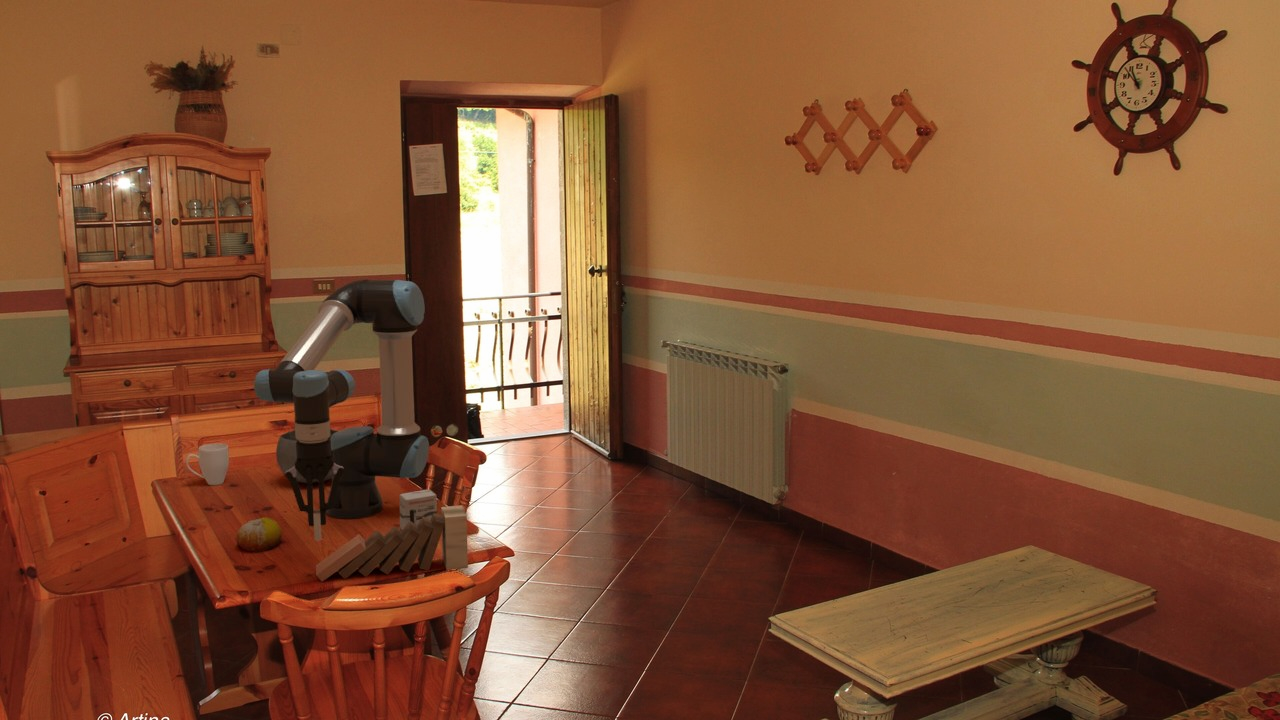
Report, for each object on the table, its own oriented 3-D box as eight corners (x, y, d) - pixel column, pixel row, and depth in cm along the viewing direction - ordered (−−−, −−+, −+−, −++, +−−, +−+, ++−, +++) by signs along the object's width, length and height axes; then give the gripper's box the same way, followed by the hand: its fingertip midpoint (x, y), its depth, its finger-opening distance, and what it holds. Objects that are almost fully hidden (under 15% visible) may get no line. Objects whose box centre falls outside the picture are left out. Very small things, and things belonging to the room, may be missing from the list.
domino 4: (378, 560, 236) (409, 520, 237) (385, 565, 237) (417, 525, 238) (379, 569, 231) (412, 528, 231) (387, 574, 231) (419, 533, 232)
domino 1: (316, 565, 232) (359, 533, 234) (321, 572, 233) (364, 540, 235) (316, 574, 226) (360, 542, 228) (322, 581, 227) (365, 549, 229)
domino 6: (417, 559, 239) (433, 513, 238) (426, 561, 240) (441, 515, 239) (419, 568, 234) (436, 521, 233) (428, 570, 234) (444, 523, 234)
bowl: (336, 491, 293) (334, 442, 290) (267, 490, 293) (264, 441, 291) (356, 471, 313) (354, 425, 311) (292, 470, 313) (290, 424, 311)
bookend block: (442, 558, 242) (441, 507, 240) (463, 555, 244) (462, 505, 241) (446, 570, 235) (445, 517, 232) (467, 567, 236) (466, 515, 234)
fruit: (244, 535, 255) (252, 507, 254) (283, 547, 255) (291, 519, 254) (226, 550, 244) (234, 520, 243) (267, 563, 244) (275, 533, 243)
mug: (227, 477, 305) (224, 441, 303) (233, 484, 299) (230, 447, 297) (185, 483, 299) (182, 447, 297) (190, 490, 292) (187, 453, 290)
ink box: (406, 543, 251) (405, 499, 249) (399, 537, 256) (398, 493, 253) (438, 537, 256) (437, 493, 254) (431, 531, 260) (429, 488, 258)
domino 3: (357, 561, 235) (394, 525, 236) (364, 567, 236) (401, 531, 237) (358, 571, 229) (396, 533, 231) (365, 577, 230) (403, 539, 231)
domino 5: (397, 559, 238) (422, 516, 238) (406, 563, 238) (430, 520, 239) (399, 568, 232) (425, 524, 232) (408, 572, 233) (433, 528, 233)
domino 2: (337, 563, 233) (377, 529, 235) (344, 569, 234) (384, 535, 236) (338, 572, 228) (379, 538, 229) (344, 579, 229) (385, 544, 230)
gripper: (282, 445, 218) (287, 547, 222) (343, 441, 222) (348, 541, 226) (283, 437, 225) (288, 535, 230) (342, 433, 229) (347, 530, 233)
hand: (318, 538), depth 228 cm, fingers closed
